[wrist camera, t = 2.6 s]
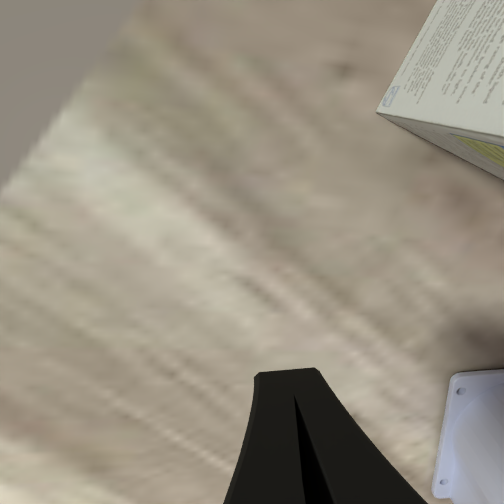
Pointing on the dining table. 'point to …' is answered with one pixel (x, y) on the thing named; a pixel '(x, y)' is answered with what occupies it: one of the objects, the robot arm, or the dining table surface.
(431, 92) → the light bulb box
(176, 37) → the dining table surface
